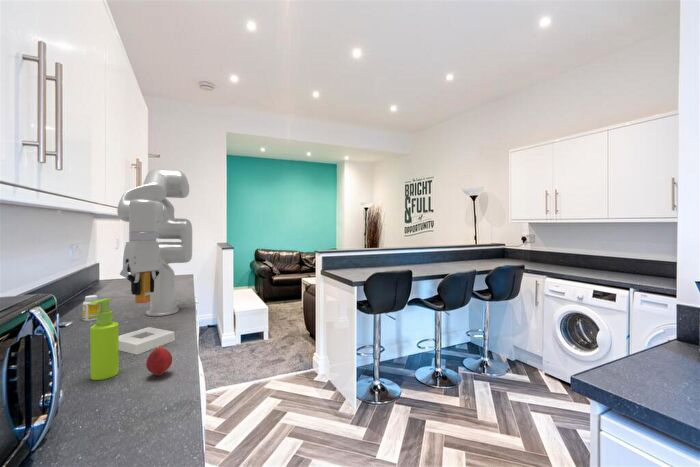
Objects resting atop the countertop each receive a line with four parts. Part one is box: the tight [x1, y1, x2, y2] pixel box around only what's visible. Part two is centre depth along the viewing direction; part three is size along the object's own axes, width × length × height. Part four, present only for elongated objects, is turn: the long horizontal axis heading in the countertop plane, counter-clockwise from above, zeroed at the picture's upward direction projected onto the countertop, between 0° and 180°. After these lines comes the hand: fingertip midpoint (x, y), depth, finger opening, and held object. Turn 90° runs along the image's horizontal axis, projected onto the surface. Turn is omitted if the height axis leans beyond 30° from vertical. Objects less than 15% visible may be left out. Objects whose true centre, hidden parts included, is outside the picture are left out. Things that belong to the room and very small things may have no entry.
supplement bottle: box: [82, 294, 100, 322], centre depth 132 cm, size 5×5×10 cm
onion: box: [145, 345, 173, 377], centre depth 84 cm, size 6×6×8 cm
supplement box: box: [134, 272, 150, 304], centre depth 105 cm, size 3×3×10 cm
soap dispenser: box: [87, 297, 120, 381], centre depth 83 cm, size 6×7×20 cm
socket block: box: [119, 326, 176, 355], centre depth 105 cm, size 13×13×3 cm
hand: (143, 292), depth 105 cm, fingers closed on supplement box, 4 cm apart
